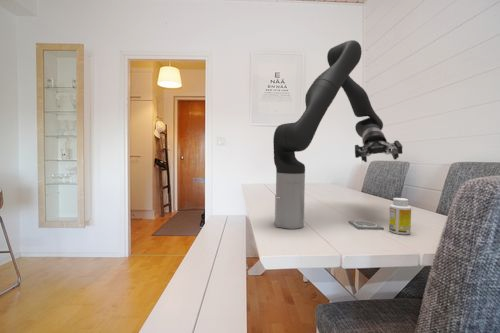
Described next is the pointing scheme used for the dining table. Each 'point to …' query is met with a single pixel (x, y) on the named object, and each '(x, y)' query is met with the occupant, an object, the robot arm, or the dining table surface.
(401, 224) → the supplement bottle
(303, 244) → the dining table surface
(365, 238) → the dining table surface
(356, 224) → the slate tile
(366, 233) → the dining table surface
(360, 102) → the robot arm
